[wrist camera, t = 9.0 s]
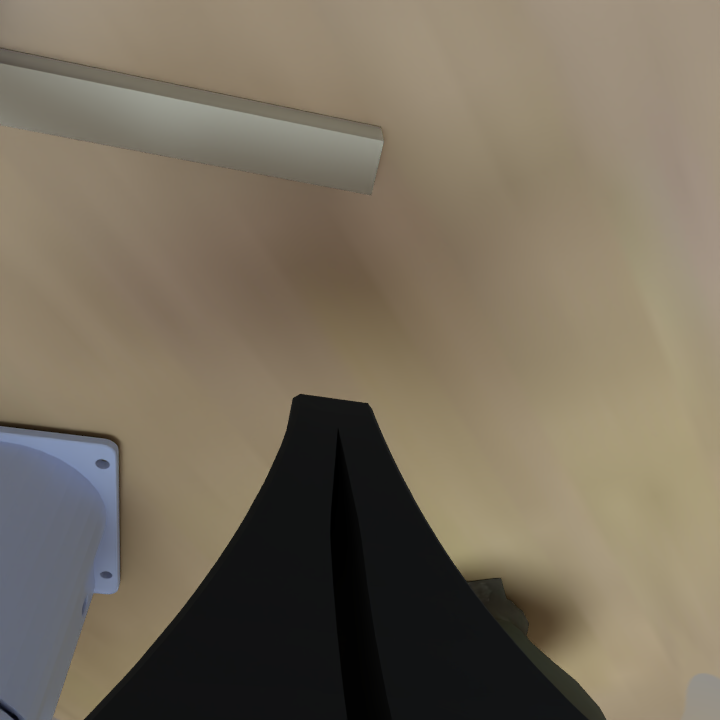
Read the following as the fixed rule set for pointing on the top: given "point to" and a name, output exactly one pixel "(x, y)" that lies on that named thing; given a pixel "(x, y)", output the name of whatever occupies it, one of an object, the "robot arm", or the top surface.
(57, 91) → the guide channel
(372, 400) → the top surface
